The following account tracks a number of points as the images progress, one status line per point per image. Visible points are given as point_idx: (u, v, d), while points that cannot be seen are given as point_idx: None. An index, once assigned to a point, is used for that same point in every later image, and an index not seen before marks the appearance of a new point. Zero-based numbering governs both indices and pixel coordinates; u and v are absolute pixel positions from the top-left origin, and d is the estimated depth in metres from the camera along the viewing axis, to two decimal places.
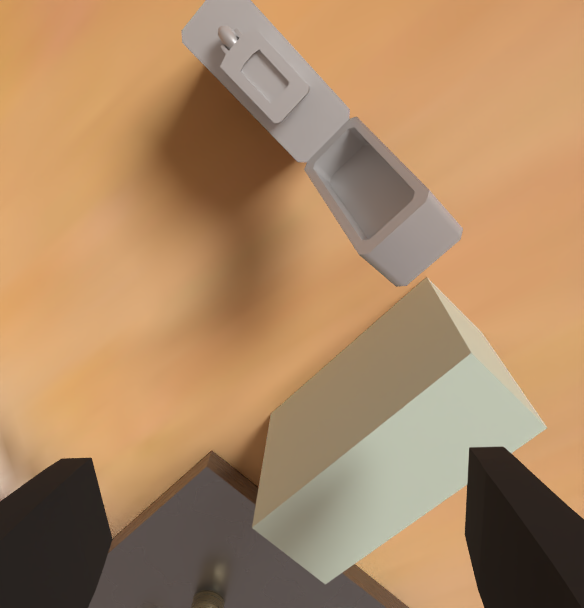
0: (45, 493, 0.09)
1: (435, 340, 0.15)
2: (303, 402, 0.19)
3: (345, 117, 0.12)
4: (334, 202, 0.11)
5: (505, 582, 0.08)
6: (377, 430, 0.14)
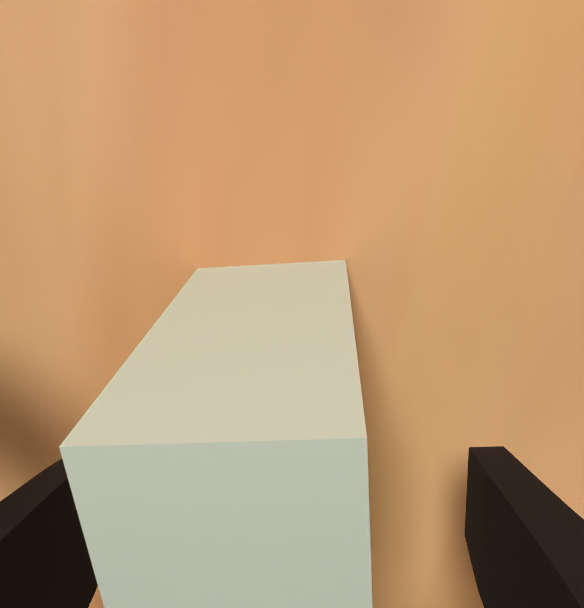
0: (45, 493, 0.09)
1: None
2: None
3: None
4: None
5: (505, 582, 0.08)
6: None
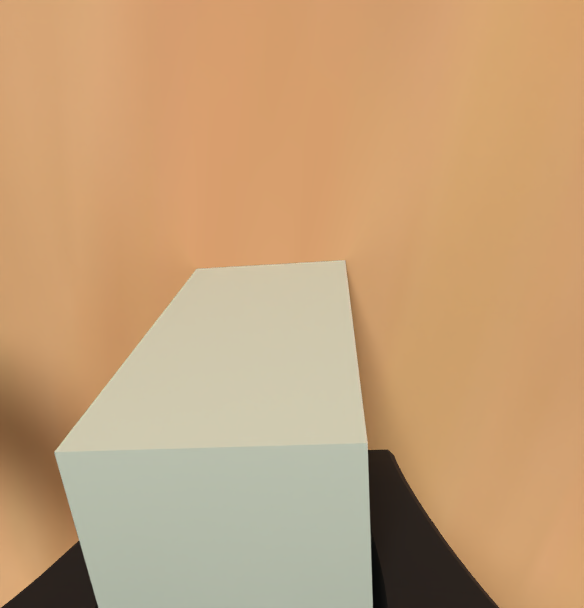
0: None
1: None
2: None
3: None
4: None
5: None
6: None
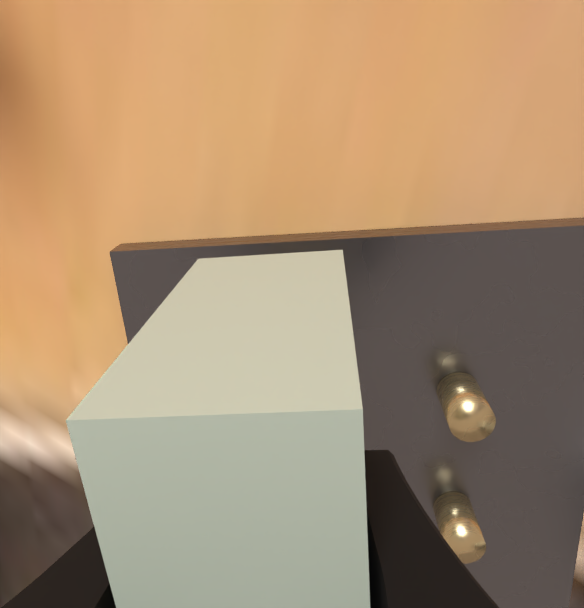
0: None
1: None
2: None
3: None
4: None
5: (369, 583, 0.08)
6: None
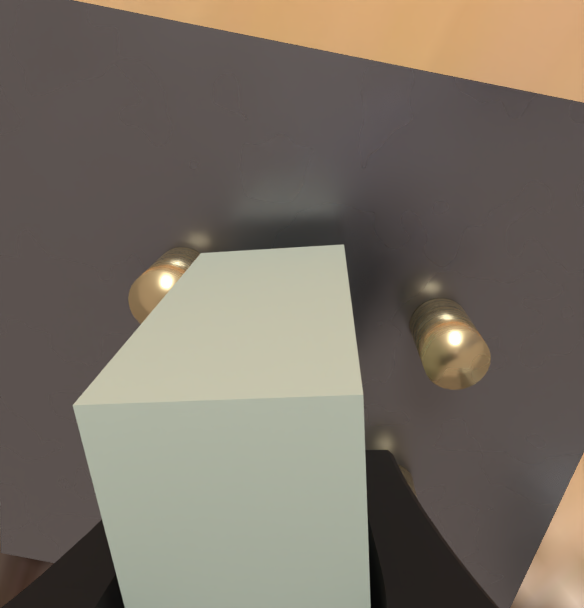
0: None
1: None
2: None
3: None
4: None
5: None
6: None
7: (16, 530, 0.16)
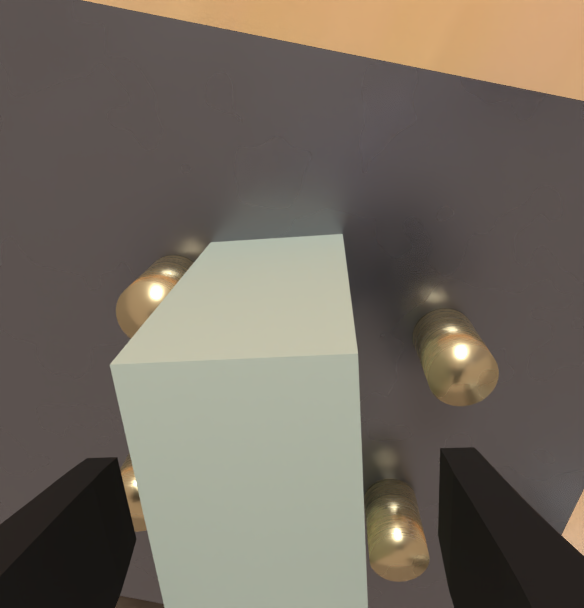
0: (75, 492, 0.09)
1: None
2: None
3: None
4: None
5: (471, 582, 0.08)
6: (157, 560, 0.07)
7: None
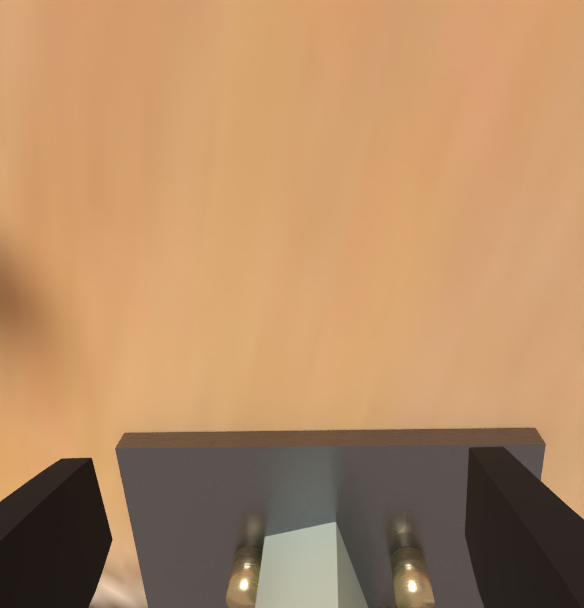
0: (45, 493, 0.09)
1: None
2: None
3: None
4: None
5: (505, 582, 0.08)
6: None
7: None
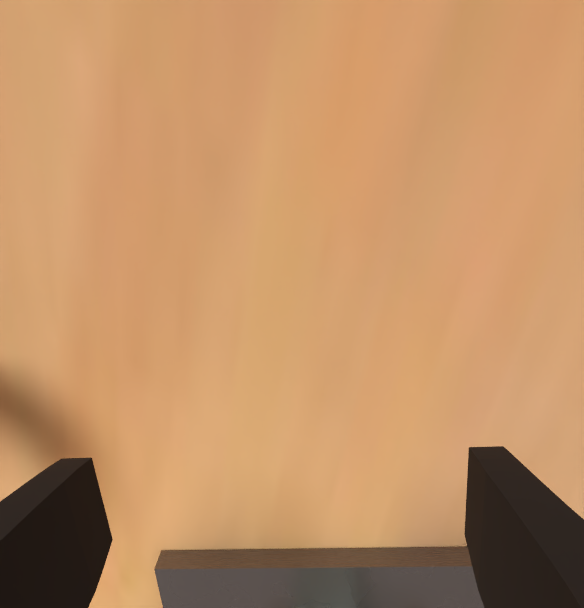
0: (45, 493, 0.09)
1: None
2: None
3: None
4: None
5: (506, 582, 0.08)
6: None
7: None
